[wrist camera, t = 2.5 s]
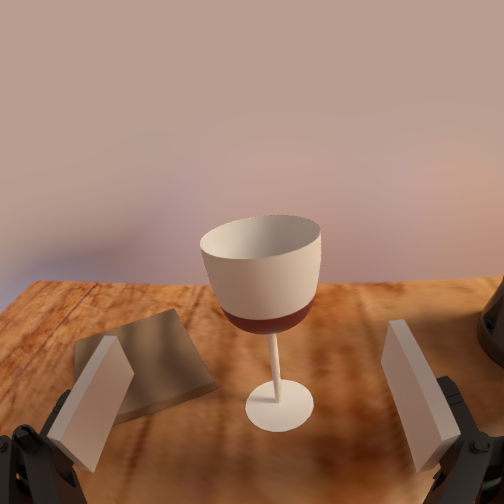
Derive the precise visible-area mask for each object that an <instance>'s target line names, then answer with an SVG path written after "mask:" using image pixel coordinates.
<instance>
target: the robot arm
mask: <svg viewBox="0 0 504 504" xmlns="http://www.w3.org/2000/svg"><path fill="white" fill-rule="evenodd" d="M477 333H478V338H479V341H480V343H481V345H482V347H483V348H484V350H485V351H486V353H487V354H488V355H489V356H490V357H491V358H492V359H493V360H494V361H496V362H497V363H498V364H500V365H501V366H503V367H504V277H503V280H502V282H501V284H500V285H499V287H498V288H497V290H496V291H495V293H494V294H493V296H492V297H491V299H490V300H489V301H488V303H487V304H486V306H485V307H484V309H483V311H482V314H481V317H480V320H479V323H478V327H477ZM380 363H381V366H382V368H383V371H384V374H385V376H386V379H387V382H388V385H389V387H390V390H391V393H392V396H393V399H394V401H395V404H396V407H397V410H398V413H399V416H400V419H401V422H402V425H403V428H404V432H405V435H406V438H407V441H408V444H409V448H410V451H411V454H412V458H413V461H414V465H415V468H416V472H417V473H420V472H423V471H426V470H429V469H432V468H434V467H435V466H436V465H437V464H438V462H439V463H440V466H441V469H440V470H439V471H438V472H437V473H436V474H435V475H434V477H433V479H435V478H436V479H435V481H434V483H433V485H432V487H431V489H430V491H429V493H428V495H427V496H426V498H425V500H424V502H423V504H504V436H499V437H489V435H488V434H486V433H484V432H480V431H479V430H478V428H477V426H476V424H475V422H474V420H473V418H472V416H471V414H470V412H469V409H468V407H467V405H466V403H465V402H464V399H463V397H462V395H461V394H460V392H459V390H458V388H457V386H456V384H455V383H454V382H453V381H452V380H451V379H450V378H449V377H448V376H444V377H440V378H437V379H436V378H435V376H434V374H433V372H432V370H431V368H430V366H429V364H428V362H427V361H426V359H425V357H424V355H423V353H422V351H421V349H420V347H419V345H418V344H417V342H416V340H415V338H414V336H413V335H412V333H411V331H410V329H409V327H408V326H407V324H406V322H405V320H404V319H399V320H392V321H389V324H388V329H387V334H386V339H385V344H384V349H383V353H382V358H381V362H380ZM133 376H134V372H133V370H132V368H131V366H130V364H129V362H128V360H127V357H126V355H125V353H124V351H123V349H122V347H121V345H120V342H119V340H118V338H117V336H104V337H103V339H102V340H101V342H100V344H99V345H98V347H97V348H96V350H95V352H94V353H93V355H92V357H91V358H90V360H89V362H88V363H87V365H86V367H85V368H84V370H83V372H82V373H81V375H80V377H79V378H78V380H77V382H76V384H75V385H74V387H73V389H72V390H67V391H65V392H64V393H63V394H62V395H61V396H60V398H59V399H58V401H57V403H56V406H54V408H53V410H52V412H51V414H50V415H49V417H48V419H47V421H46V423H45V424H44V426H43V428H42V430H41V432H40V434H39V435H38V434H37V433H36V432H35V430H34V429H33V428H32V427H31V426H29V425H26V424H25V425H21V426H19V427H17V428H16V429H15V430H14V432H13V434H12V440H11V439H10V438H9V437H8V436H6V435H2V436H0V504H87V502H86V499H85V497H84V494H83V492H82V489H81V487H80V484H79V481H78V478H77V476H76V473H75V471H74V469H73V468H72V466H73V464H75V465H77V466H78V467H79V468H80V469H82V470H85V471H88V472H91V473H94V471H95V468H96V466H97V463H98V461H99V458H100V455H101V453H102V450H103V448H104V445H105V442H106V440H107V437H108V435H109V432H110V430H111V428H112V425H113V423H114V420H115V418H116V415H117V413H118V411H119V408H120V406H121V403H122V401H123V399H124V396H125V394H126V392H127V389H128V387H129V385H130V383H131V380H132V378H133ZM16 473H17V474H18V475H19V479H17V478H16ZM474 501H475V503H474Z"/></svg>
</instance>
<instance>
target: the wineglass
mask: <svg viewBox="0 0 504 504" xmlns="http://www.w3.org/2000/svg"><path fill="white" fill-rule="evenodd" d="M200 247H201V252H202V256H203V260H204V264H205V267H206V270H207V273H208V276H209V280H210V283H211V285H212V288H213V290H214V292H215V295H216V297H217V299H218V301H219V303H220V305H221V308H222V310H223V312H224V314H225V315H226V317H227V318H228V320H229V321H230V322H231V323H232V324H234V325H235V326H236V327H238V328H239V329H242V330H244V331H247V332H250V333H254V334H267V335H268V343H269V352H270V360H271V368H272V376H273V381H270V382H266V383H264V384H262V385H260V386H258V387H257V388H256V389H255V390H254V391H253V392H251V393H250V395H249V397H248V399H247V401H246V408H245V410H246V413H247V416H248V418H249V419H250V421H251V422H252V423H253V424H254V425H256V426H257V427H259V428H261V429H263V430H267V431H271V432H284V431H288V430H291V429H294V428H297V427H298V426H300V425H301V424H303V423H304V422H305V421H306V420H307V419H308V418H309V416H310V415H311V413H312V410H313V407H314V405H313V397H312V395H311V393H310V392H309V390H308V389H306V388H305V387H304V386H303V385H301V384H299V383H297V382H295V381H289V380H281V379H280V369H279V358H278V348H277V338H276V333H279V332H283V331H285V330H288V329H290V328H292V327H294V326H295V325H297V324H298V323H299V322H301V321H302V320H303V319H304V318H305V317H306V315H307V314H308V313H309V311H310V309H311V307H312V304H313V300H314V297H315V292H316V287H317V283H318V276H319V269H320V261H321V230H320V227H319V225H318V224H316V223H315V222H313V221H311V220H309V219H306V218H302V217H297V216H288V215H269V216H258V217H251V218H246V219H241V220H237V221H233V222H230V223H227V224H224V225H222V226H219V227H217V228H215V229H213V230H211V231H210V232H208V233H207V234H206V235H204V236H203V238H202V239H201V242H200Z"/></svg>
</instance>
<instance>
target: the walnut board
mask: <svg viewBox="0 0 504 504" xmlns="http://www.w3.org/2000/svg"><path fill="white" fill-rule="evenodd" d="M104 336H117V338H118V340H119V342H120V345H121V347H122V349H123V351H124V353H125V355H126V357H127V360H128V362H129V364H130V366H131V368H132V370H133V372H134V376H133V378H132V380H131V383H130V385H129V387H128V389H127V392H126V394H125V396H124V399H123V401H122V403H121V406H120V408H119V411H118V413H117V415H116V418H115V420H114V423H113V425H116V424H119V423H122V422H126V421H129V420H132V419H135V418H139V417H142V416H145V415H148V414H151V413H154V412H157V411H160V410H162V409H165V408H168V407H171V406H174V405H176V404H179V403H182V402H185V401H187V400H190V399H193V398H195V397H198V396H200V395H203V394H205V393H208V392H210V391H213V390H215V389H217V387H216V384H215V381H214V379H213V378H212V376H211V374H210V372H209V371H208V369H207V367H206V366H205V364H204V362H203V360H202V359H201V357H200V355H199V353H198V352H197V350H196V348H195V346H194V344H193V343H192V341H191V339H190V337H189V335H188V333H187V332H186V330H185V328H184V326H183V324H182V322H181V320H180V318H179V316H178V314H177V313H176V311H175V309H174V308H173V309H170V310H168V311H165V312H162V313H159V314H156V315H153V316H150V317H147V318H144V319H141V320H138V321H135V322H132V323H129V324H126V325H123V326H120V327H117V328H114V329H111V330H108V331H105V332H102V333H99V334H96V335H93V336H90V337H87V338H84V339H81V340H78V341H75V358H74V372H75V384H76V382H77V380H78V378H79V377H80V375H81V373H82V372H83V370H84V368H85V367H86V365H87V363H88V362H89V360H90V358H91V357H92V355H93V353H94V352H95V350H96V348H97V347H98V345H99V344H100V342H101V340H102V339H103V337H104Z"/></svg>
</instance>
